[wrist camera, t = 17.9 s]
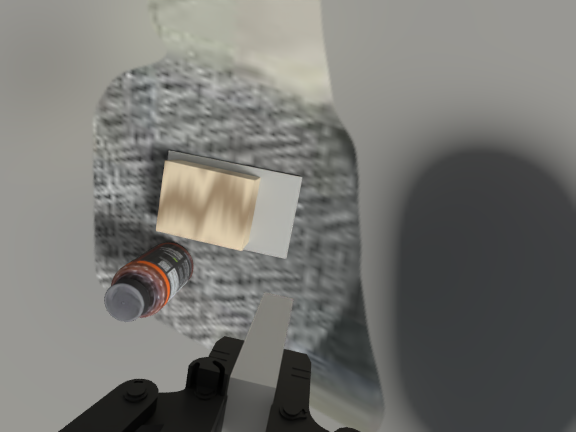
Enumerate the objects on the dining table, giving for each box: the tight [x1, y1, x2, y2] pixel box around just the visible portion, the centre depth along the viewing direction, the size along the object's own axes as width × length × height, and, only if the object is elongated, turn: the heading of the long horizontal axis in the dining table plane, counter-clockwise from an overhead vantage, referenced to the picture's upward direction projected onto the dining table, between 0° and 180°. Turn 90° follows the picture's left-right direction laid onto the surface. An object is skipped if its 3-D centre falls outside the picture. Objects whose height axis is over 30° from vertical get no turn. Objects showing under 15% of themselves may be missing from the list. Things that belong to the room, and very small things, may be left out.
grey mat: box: [168, 150, 302, 259], centre depth 42 cm, size 10×16×1 cm, turn 79°
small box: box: [156, 159, 261, 251], centre depth 40 cm, size 8×4×10 cm
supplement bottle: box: [104, 243, 193, 322], centre depth 39 cm, size 6×6×11 cm
